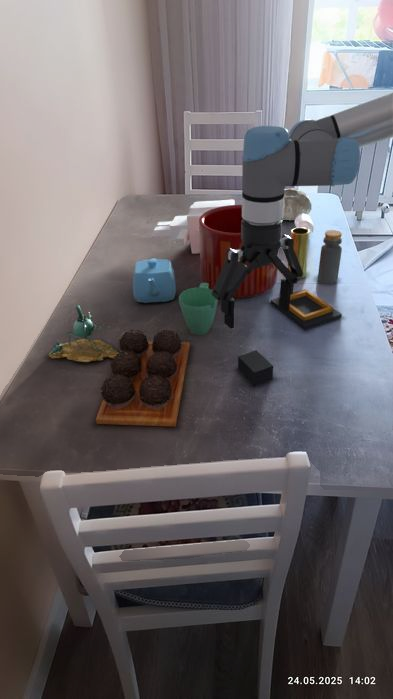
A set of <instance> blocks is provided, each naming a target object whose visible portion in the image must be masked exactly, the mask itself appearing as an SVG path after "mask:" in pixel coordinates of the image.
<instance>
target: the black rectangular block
mask: <svg viewBox="0 0 393 699" xmlns="http://www.w3.org/2000/svg"><path fill="white" fill-rule="evenodd" d="M237 371H239V373H240V374H241V375H242V376H243V378H245V379H246V380H247V381H248V383H249V384H251V385H252V386H253V387H257V386H259V385H262V384H264V383H267V382H270V381H272V380H273V378H274V377H273V376H274V364H272V363H271V362H270V361H269V360H268V359H267V358H265V356H263V355H262V354H261V352H259V351H258V350H257V349H254V350H252V351H249V352H246V353H243V354H241V355H238V356H237Z"/></svg>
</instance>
